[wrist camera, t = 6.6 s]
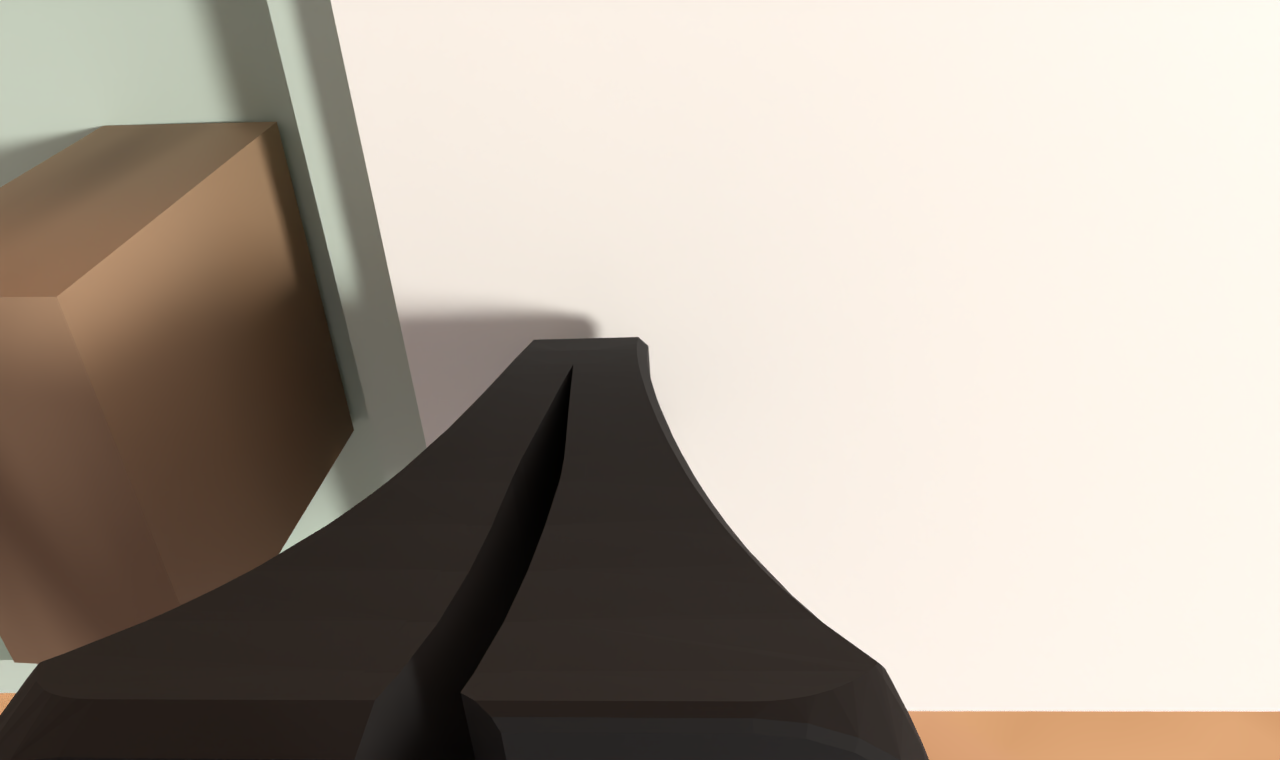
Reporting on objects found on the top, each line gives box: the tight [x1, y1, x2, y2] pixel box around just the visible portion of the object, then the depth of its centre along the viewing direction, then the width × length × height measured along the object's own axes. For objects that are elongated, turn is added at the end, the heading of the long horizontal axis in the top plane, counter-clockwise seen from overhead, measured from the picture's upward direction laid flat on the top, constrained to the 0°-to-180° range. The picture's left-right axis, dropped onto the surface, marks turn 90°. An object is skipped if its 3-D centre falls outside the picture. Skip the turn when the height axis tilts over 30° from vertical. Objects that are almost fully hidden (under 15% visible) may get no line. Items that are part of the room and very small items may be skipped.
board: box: [331, 0, 1280, 711], centre depth 14 cm, size 12×15×3 cm
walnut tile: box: [0, 122, 354, 664], centre depth 13 cm, size 5×5×2 cm
